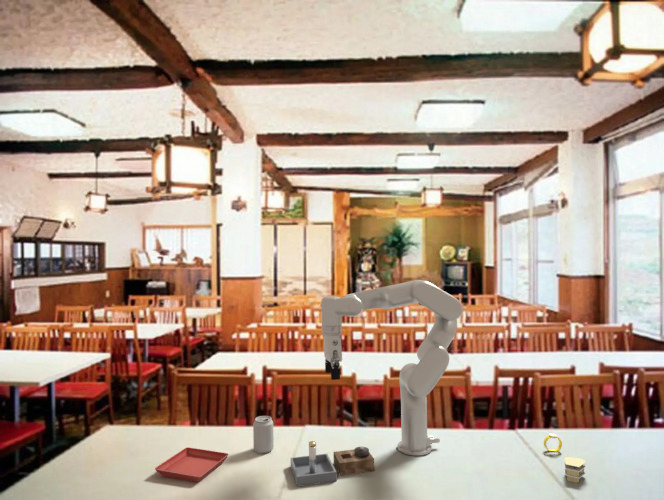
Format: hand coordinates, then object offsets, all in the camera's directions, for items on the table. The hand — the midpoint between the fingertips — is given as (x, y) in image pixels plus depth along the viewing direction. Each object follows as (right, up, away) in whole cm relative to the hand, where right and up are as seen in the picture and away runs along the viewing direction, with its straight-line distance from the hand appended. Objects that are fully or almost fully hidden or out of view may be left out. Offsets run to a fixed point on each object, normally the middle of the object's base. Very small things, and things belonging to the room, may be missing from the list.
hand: (332, 375), depth 169 cm
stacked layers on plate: (+78, -28, -22) cm, 86 cm away
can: (-26, -29, +3) cm, 39 cm away
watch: (+81, -27, -2) cm, 85 cm away
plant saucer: (-48, -30, -12) cm, 58 cm away
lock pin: (-7, -28, -16) cm, 33 cm away
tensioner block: (+7, -28, -12) cm, 31 cm away
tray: (-7, -28, -16) cm, 33 cm away
